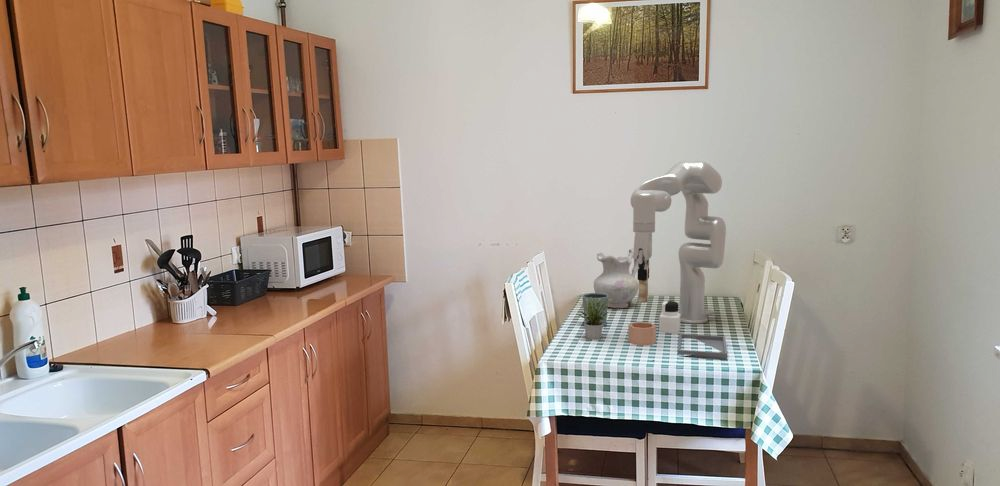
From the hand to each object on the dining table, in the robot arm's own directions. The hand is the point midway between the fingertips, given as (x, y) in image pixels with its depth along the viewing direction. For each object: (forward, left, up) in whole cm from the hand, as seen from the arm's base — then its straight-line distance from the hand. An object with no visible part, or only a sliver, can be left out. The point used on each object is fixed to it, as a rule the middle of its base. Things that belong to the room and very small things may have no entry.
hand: (643, 278), depth 256 cm
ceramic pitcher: (-18, -60, -24) cm, 67 cm away
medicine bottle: (-17, -11, -24) cm, 31 cm away
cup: (0, 0, -24) cm, 24 cm away
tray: (-17, +12, -24) cm, 32 cm away
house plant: (+13, -10, -24) cm, 29 cm away
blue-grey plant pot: (+5, -31, -24) cm, 39 cm away
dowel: (0, 0, -8) cm, 8 cm away
